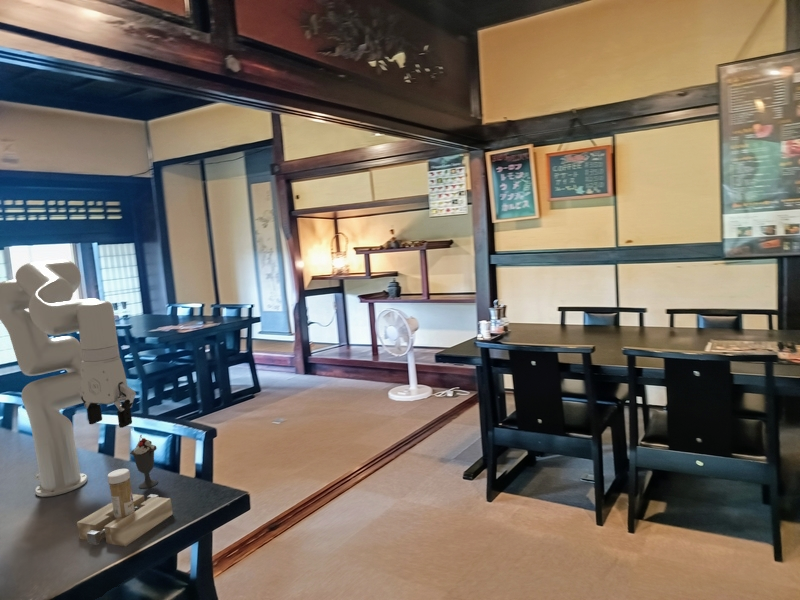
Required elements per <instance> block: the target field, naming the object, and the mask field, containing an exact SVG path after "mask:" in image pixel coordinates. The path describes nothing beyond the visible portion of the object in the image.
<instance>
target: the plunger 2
mask: <svg viewBox="0 0 800 600" xmlns="http://www.w3.org/2000/svg"><path fill="white" fill-rule="evenodd" d="M146 497H147V500H148V499H149V498H151V497H159V494H153V493H150V494H149V495H147V496H146ZM134 508H135V511H137V510H138V509H140V508H141V506H140V507H139V506H136V507H134Z"/></svg>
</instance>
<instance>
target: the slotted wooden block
mask: <svg viewBox="0 0 800 600" xmlns="http://www.w3.org/2000/svg"><path fill="white" fill-rule="evenodd" d="M132 496H133V502H134V507H136V506H139V507H140V506H141V508H140V509H138V510H137V511H135V512H133V513H132V514H130V515H129V516H127V517H125V518H117V519H115V516H114V511H113V505H112V501H111V502H109V503H108V504H106V505H105V506H102V507H101V508H99V509H97V510H96V511H94V512H93V513H90V514H89V515H88V516H85V517H83V518H82V519H81V520H79V521H77V522H76V525H77V530H78V537H79V539H80V540H84V541H88V537H87V533H88V532H90V531H91V530H93V531H102V530H103V529H105V533H104V534H102V535H100V538H101V540H103V539H104V538H105V540H106V544H108V545H113V546H114V545H115V546H120V547H121V546H122V547H127V546H128V545H130V544H131V543H133V542H134V541H136V540H137V539H138V538H140V537H141V536H143V535H144V534H146V533H147V532H149V531H150V530H152V529H154V527H156V526H157V525H159V524H160V523H162V522H164V521H165V520H166V519H168V518H170V516H172V515H173V513H174V511H173V506H172V500H171V498H170V497H168V498H167V497H161V496H160V497H151V498H149V499H148V498H147V499H145V495H144V494H135V493H132ZM111 521H112V522H111Z"/></svg>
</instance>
